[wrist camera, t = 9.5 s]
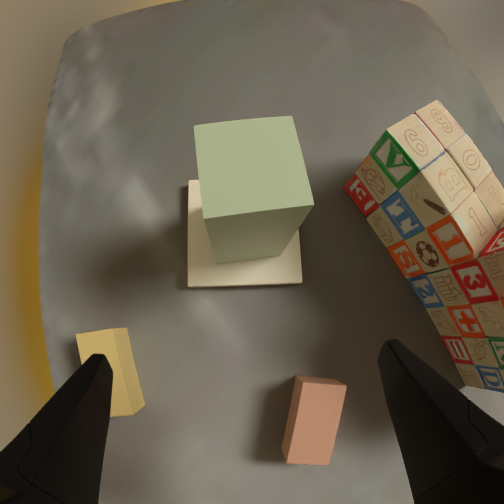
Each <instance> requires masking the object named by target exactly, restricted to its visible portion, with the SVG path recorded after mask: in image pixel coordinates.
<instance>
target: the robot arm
mask: <svg viewBox="0 0 504 504" xmlns="http://www.w3.org/2000/svg"><path fill="white" fill-rule="evenodd" d="M378 365H379V369H380V374H381V379H382V384H383V389H384V394H385V399H386V403H387V406H388V409H389V413H390V416H391V419H392V422H393V426H394V429H395V432H396V436H397V439H398V443H399V446H400V450H401V453H402V457H403V460H404V464H405V468H406V472H407V475H408V479H409V483H410V487H411V491H412V495H413V500H414V504H504V426H503V425H502V424H500V423H499V422H497V421H496V420H495V419H493V418H492V417H490V416H489V415H488V414H486V413H485V412H484V411H483V410H481V409H480V408H479V407H478V406H476V405H475V404H474V403H473V402H472V401H470V400H468V398H467V397H466V396H464V395H463V394H462V393H461V392H460V391H459V390H457V389H456V388H455V387H454V386H453V385H451V384H450V383H449V382H448V381H447V380H445V379H444V378H443V377H442V376H441V375H439V374H438V373H437V372H436V371H435V370H433V369H432V368H431V367H430V366H429V365H427V364H426V363H425V362H424V361H423V360H421V359H420V358H419V357H418V356H417V355H415V354H414V353H413V352H412V351H411V350H409V349H408V348H407V347H406V346H404V345H403V344H402V343H401V342H400V341H398V340H396V339H393V340H387V341H385V342H384V344H383V346H382V349H381V351H380V354H379V356H378ZM112 385H113V370H112V367H111V365H110V363H109V361H108V359H107V357H106V356H105V355H104V354H97V353H94V354H92V355H91V356H90V357H89V358H88V359H87V360H86V361H85V362H84V363H83V364H82V365H81V366H80V367H79V368H78V369H77V371H76V372H75V373H74V374H73V375H72V376H71V377H70V378H69V379H68V380H67V381H66V382H65V383H64V384H63V385H62V387H61V388H60V389H59V390H58V391H57V392H56V393H55V394H54V395H53V397H51V399H50V400H49V401H48V402H47V403H46V404H45V405H44V406H43V407H42V408H41V410H40V411H39V412H38V413H37V414H36V415H35V416H34V417H33V419H32V420H31V421H30V423H28V424H27V425H26V426H25V428H24V429H23V430H22V431H21V432H20V433H19V434H18V435H17V436H16V437H15V438H14V439H13V441H11V442H10V443H9V444H8V445H7V446H6V447H5V448H4V449H3V450H2V451H1V452H0V504H98V499H99V489H100V480H101V472H102V465H103V458H104V451H105V444H106V438H107V432H108V426H109V420H110V411H111V398H112Z"/></svg>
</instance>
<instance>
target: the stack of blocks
mask: <svg viewBox="0 0 504 504" xmlns="http://www.w3.org/2000/svg"><path fill="white" fill-rule="evenodd" d="M344 189H345V191H346V192H347V193H348V194H349V196H350V197H351V198H352V200H353V201H354V202H355V204H356V205H357V206H358V207H359V209H360V210H361V211H362V213H363V214H364V215H365V216H366V220H367V221H368V223H369V224H370V226H371V227H372V229H373V230H374V231H375V233H376V234H377V236H378V237H379V238H380V240H381V241H382V243H383V244H384V246H385V247H386V248H387V250H388V252H389V253H390V255H391V256H392V258H393V259H394V261H395V262H396V264H397V266H398V267H399V269H400V270H401V272H402V273H403V275H404V277H405V278H407V279H408V281H409V283H410V285H411V286H412V288H413V289H414V291H415V293H416V294H417V296H418V298H419V299H420V301H421V302H422V304H423V306H424V307H425V308H426V310H427V312H428V314H429V316H430V317H431V319H432V321H433V323H434V324H435V326H436V328H437V330H438V331H439V333H440V335H441V338H442V340H443V342H444V344H445V346H446V348H447V349H448V351H449V353H450V355H451V357H452V359H453V361H454V363H455V365H456V367H457V369H458V371H459V373H460V375H461V377H462V380H463V382H464V384H465V385H466V386H471V387H476V388H480V389H488V390H492V391H498V392H503V393H504V188H503V187H502V185H501V184H500V182H499V181H498V179H497V177H496V176H495V174H494V173H493V172H492V169H491V167H490V166H489V164H488V163H487V161H486V160H485V159H484V157H483V156H482V154H481V153H480V151H479V150H478V149H477V147H476V146H475V144H474V143H473V142H472V140H471V139H470V138H469V136H468V135H467V134H465V133H464V131H463V129H462V128H461V127H460V126H459V124H458V123H457V122H456V121H455V120H454V118H453V117H452V116H451V114H450V113H449V112H448V111H447V110H446V109H445V108H444V106H443V105H442V104H441V103H440V102H439V101H438V100H436V101H434V102H432V103H430V104H428V105H427V106H425V107H423V108H421V109H419V110H418V111H416V112H415V113H414V114H412V115H410V116H408V117H407V118H405V119H403V120H401V121H400V122H398V123H396V124H395V125H393V126H391V127H389V128H388V129H386V131H385V132H384V133H383V134H382V136H381V137H380V138H379V140H378V141H377V142H376V144H375V145H374V146H373V148H372V149H371V150H370V152H369V155H368V156H367V157H366V158H365V159H364V161H363V162H362V163H361V165H360V166H359V167H358V168H357V169H356V171H355V173H354V175H353V176H352V177H351V178H350V179H349V181H348V182H347V183H346V184H345V186H344Z"/></svg>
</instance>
